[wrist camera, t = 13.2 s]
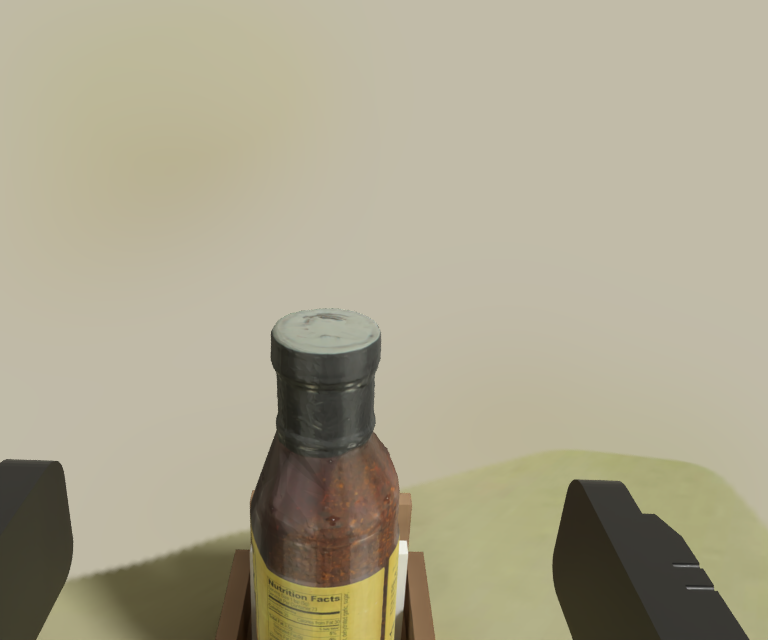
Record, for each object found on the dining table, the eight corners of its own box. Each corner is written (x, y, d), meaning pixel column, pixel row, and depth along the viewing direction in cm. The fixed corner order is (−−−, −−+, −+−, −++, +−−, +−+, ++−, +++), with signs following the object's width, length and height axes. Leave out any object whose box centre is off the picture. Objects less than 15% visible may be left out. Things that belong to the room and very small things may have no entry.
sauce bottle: (320, 627, 37) (329, 281, 29) (415, 692, 33) (452, 320, 26) (227, 712, 32) (208, 322, 24) (326, 799, 28) (340, 377, 21)
